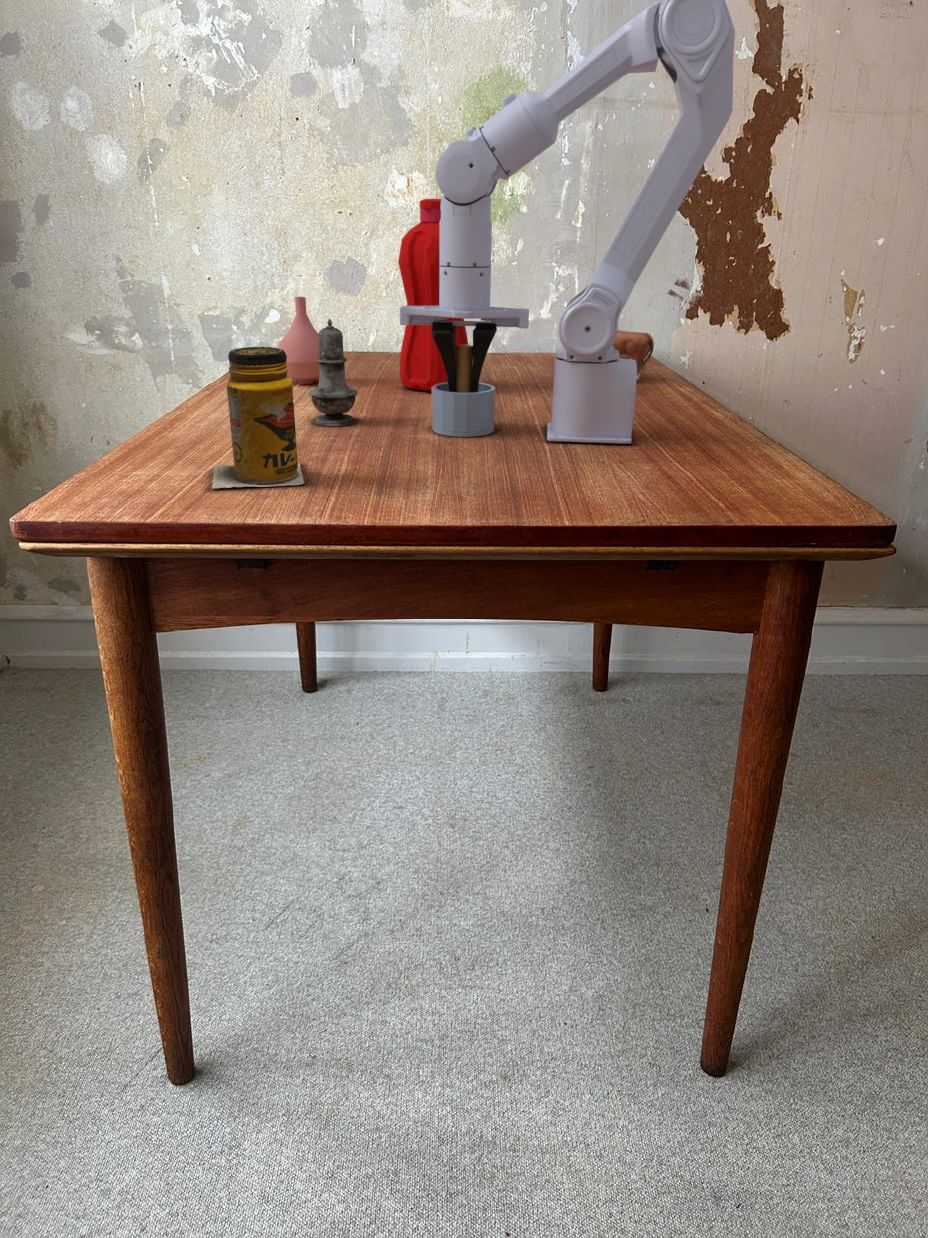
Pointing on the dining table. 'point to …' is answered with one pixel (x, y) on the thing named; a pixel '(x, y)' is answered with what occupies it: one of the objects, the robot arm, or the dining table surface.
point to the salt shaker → (332, 381)
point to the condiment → (260, 421)
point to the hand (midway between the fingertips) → (463, 390)
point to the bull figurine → (634, 348)
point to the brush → (463, 368)
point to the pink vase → (301, 346)
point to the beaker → (463, 411)
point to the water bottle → (423, 300)
